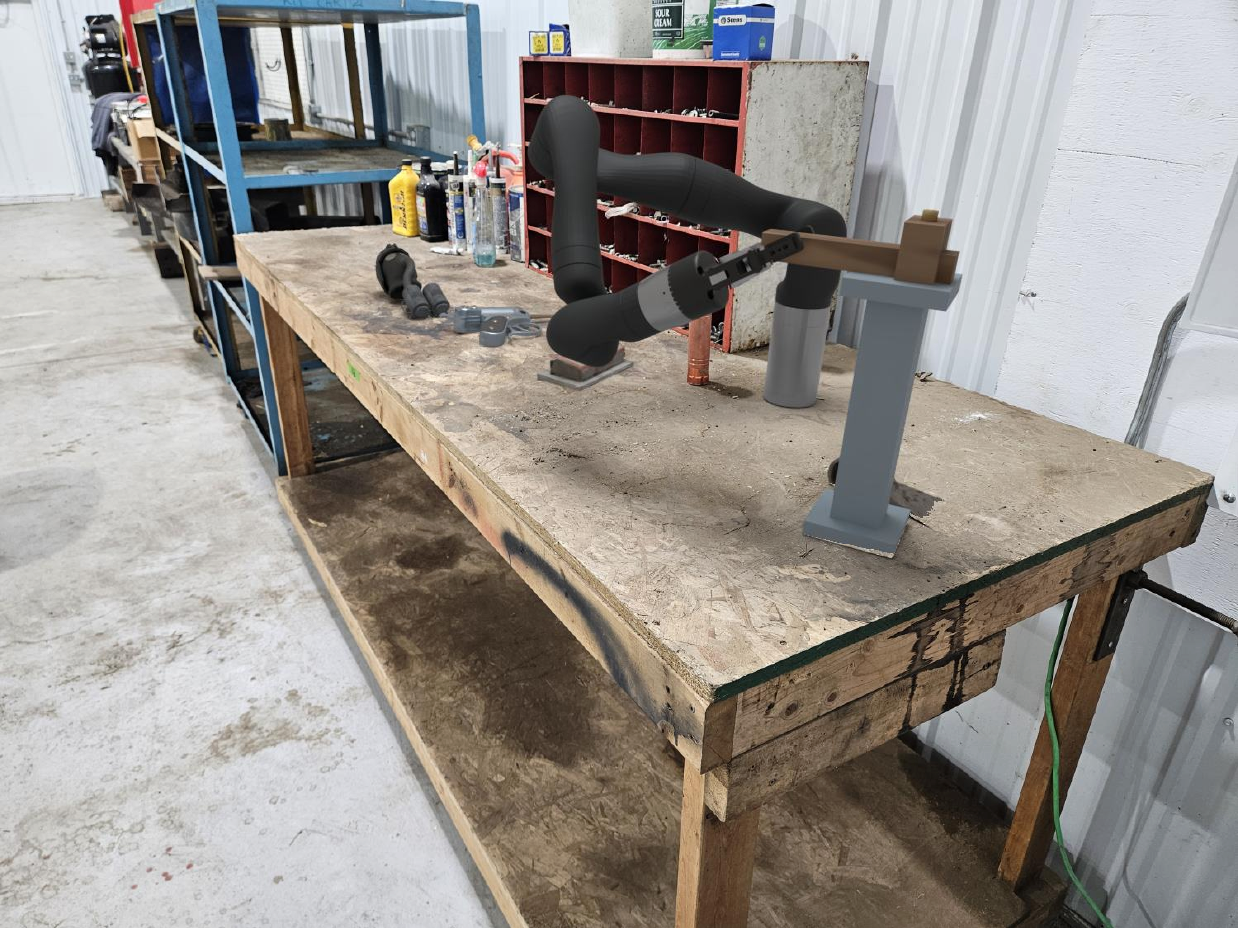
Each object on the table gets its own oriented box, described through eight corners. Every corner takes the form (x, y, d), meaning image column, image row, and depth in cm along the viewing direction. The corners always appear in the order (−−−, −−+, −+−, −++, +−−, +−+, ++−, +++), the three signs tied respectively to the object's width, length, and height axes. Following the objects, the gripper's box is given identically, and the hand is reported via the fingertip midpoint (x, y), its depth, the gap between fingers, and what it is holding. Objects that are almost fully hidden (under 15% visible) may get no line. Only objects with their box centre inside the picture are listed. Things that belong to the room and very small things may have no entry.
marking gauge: (771, 252, 97) (778, 192, 94) (955, 276, 88) (969, 210, 85) (754, 261, 92) (761, 197, 89) (947, 287, 84) (962, 218, 80)
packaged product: (592, 333, 159) (635, 343, 154) (592, 357, 161) (634, 367, 156) (535, 356, 145) (580, 367, 141) (535, 381, 147) (580, 393, 143)
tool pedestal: (823, 501, 108) (863, 261, 94) (907, 523, 104) (962, 274, 90) (802, 534, 100) (842, 277, 86) (892, 559, 96) (950, 292, 82)
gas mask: (407, 353, 185) (368, 278, 197) (445, 347, 190) (404, 275, 202) (414, 302, 174) (372, 227, 186) (454, 298, 179) (410, 224, 191)
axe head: (999, 506, 105) (968, 532, 99) (984, 537, 108) (953, 564, 102) (863, 436, 116) (827, 455, 110) (853, 465, 119) (817, 486, 113)
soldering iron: (461, 355, 161) (437, 327, 172) (586, 350, 174) (556, 324, 186) (463, 327, 158) (439, 300, 170) (590, 324, 171) (559, 299, 183)
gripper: (645, 275, 95) (775, 213, 85) (693, 255, 106) (812, 198, 96) (671, 334, 96) (801, 279, 86) (715, 308, 107) (835, 257, 98)
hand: (806, 237), depth 91 cm, fingers open, 4 cm apart
